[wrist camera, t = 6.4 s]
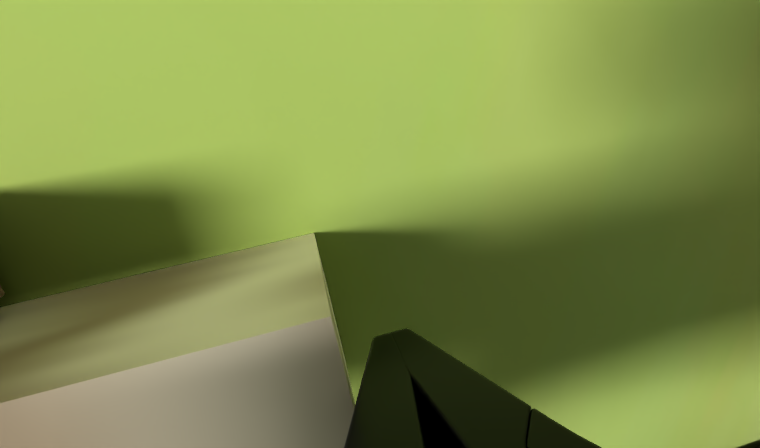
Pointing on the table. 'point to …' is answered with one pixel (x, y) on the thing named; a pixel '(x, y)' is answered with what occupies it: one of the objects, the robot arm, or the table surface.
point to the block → (181, 358)
